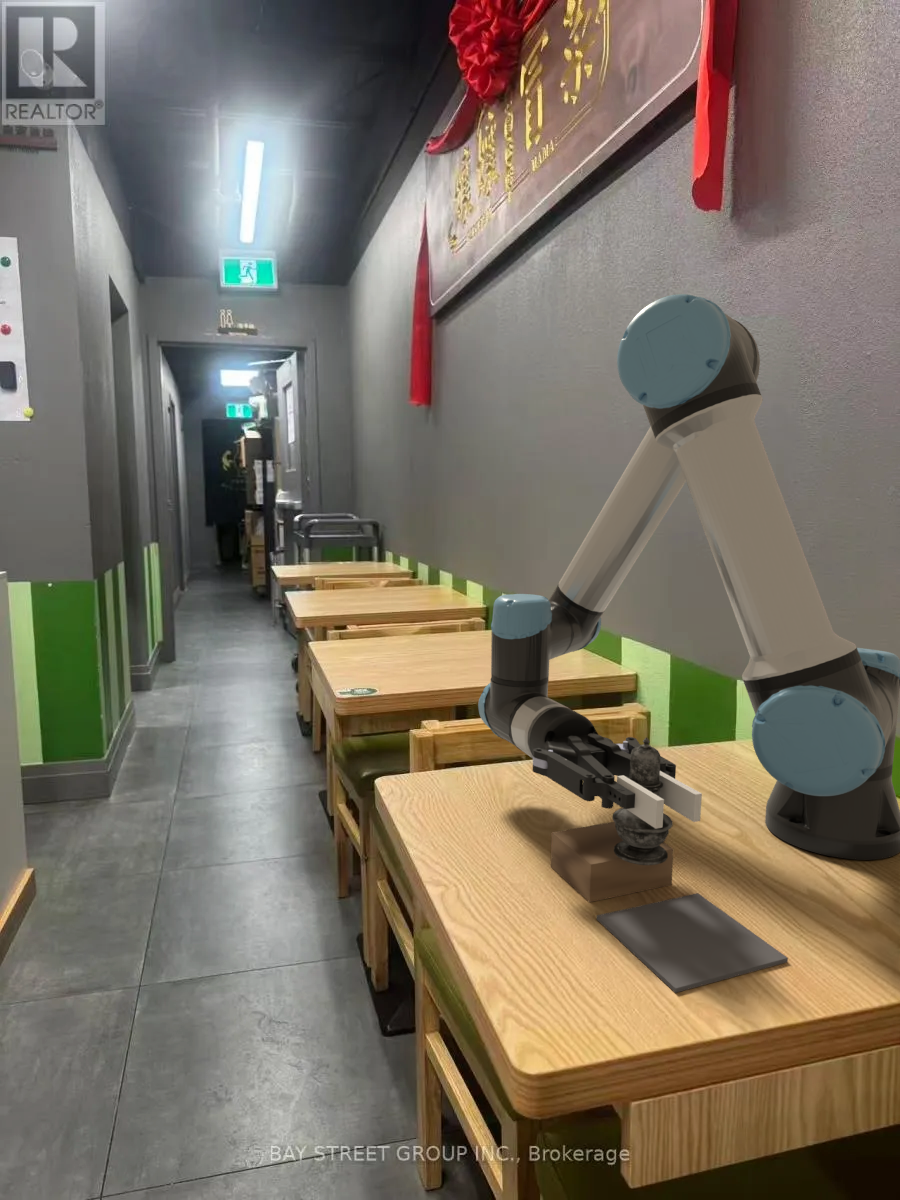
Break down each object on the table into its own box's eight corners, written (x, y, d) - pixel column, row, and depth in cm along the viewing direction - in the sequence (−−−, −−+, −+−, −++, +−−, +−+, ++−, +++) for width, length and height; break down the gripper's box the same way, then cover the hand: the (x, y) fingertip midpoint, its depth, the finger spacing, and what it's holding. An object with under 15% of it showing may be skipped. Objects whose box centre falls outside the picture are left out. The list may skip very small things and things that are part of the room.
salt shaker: (616, 835, 82) (621, 725, 81) (674, 846, 80) (680, 733, 79) (605, 859, 77) (610, 742, 75) (666, 871, 75) (673, 750, 73)
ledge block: (550, 866, 86) (551, 832, 86) (627, 852, 90) (629, 819, 89) (589, 902, 79) (590, 864, 78) (671, 884, 82) (673, 848, 82)
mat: (697, 896, 80) (697, 893, 80) (787, 962, 69) (787, 957, 69) (596, 919, 76) (596, 915, 76) (675, 992, 65) (675, 988, 65)
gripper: (612, 758, 98) (747, 835, 76) (491, 774, 92) (600, 863, 70) (615, 699, 97) (752, 761, 75) (492, 712, 91) (603, 783, 69)
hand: (678, 810), depth 73 cm, fingers closed on salt shaker, 4 cm apart
